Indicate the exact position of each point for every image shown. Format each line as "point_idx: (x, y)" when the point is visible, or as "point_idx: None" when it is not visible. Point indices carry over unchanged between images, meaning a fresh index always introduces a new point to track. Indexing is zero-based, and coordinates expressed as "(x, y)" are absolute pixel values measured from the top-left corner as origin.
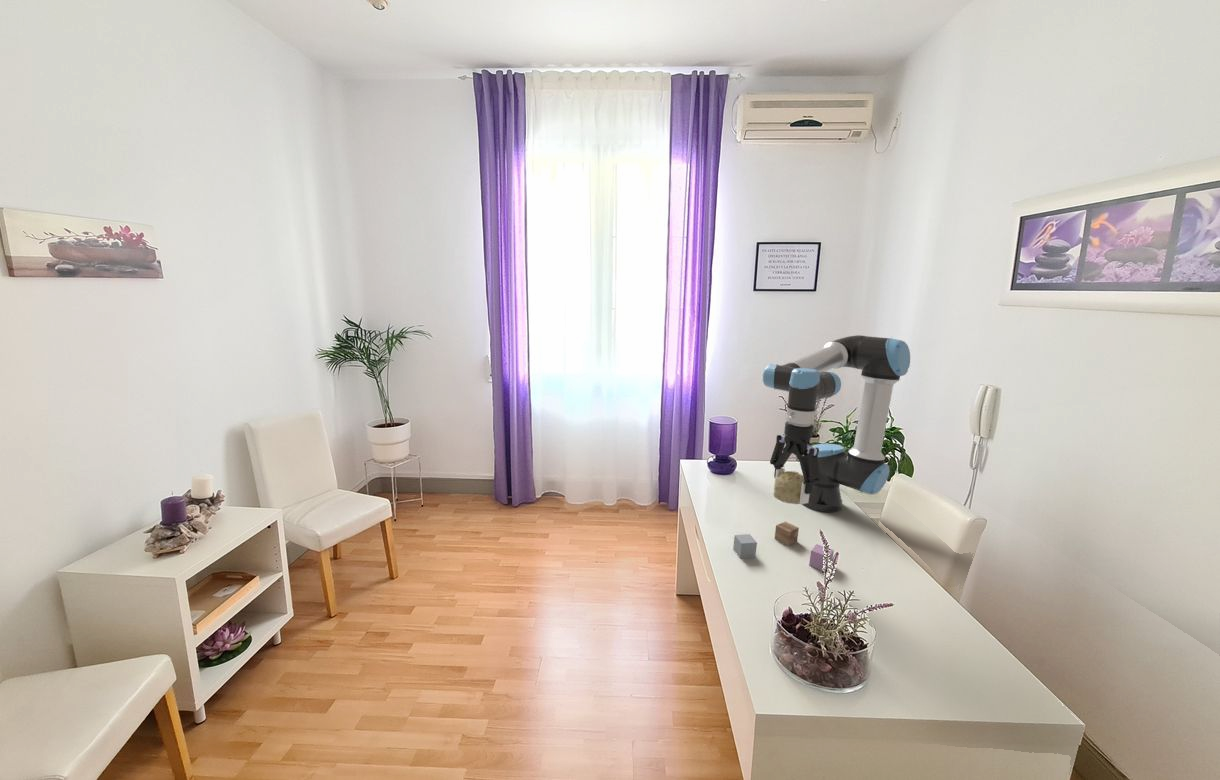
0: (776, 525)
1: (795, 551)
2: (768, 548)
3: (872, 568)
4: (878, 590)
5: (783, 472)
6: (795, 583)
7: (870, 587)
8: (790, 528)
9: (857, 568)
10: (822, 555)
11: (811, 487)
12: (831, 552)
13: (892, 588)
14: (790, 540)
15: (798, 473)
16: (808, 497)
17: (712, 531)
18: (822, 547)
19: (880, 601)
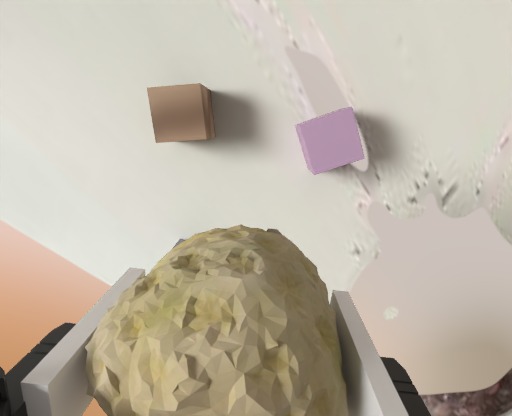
0: (157, 142)
1: (245, 142)
2: (202, 194)
3: (418, 11)
4: (473, 106)
5: (88, 394)
6: (335, 256)
7: (454, 113)
8: (191, 116)
9: (390, 56)
10: (345, 163)
11: (423, 412)
12: (355, 127)
13: (496, 61)
14: (211, 126)
15: (208, 377)
16: (357, 317)
17: (80, 256)
18: (322, 126)
19: (493, 147)
